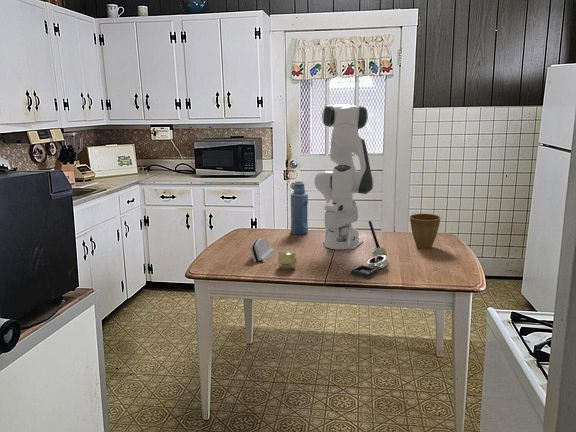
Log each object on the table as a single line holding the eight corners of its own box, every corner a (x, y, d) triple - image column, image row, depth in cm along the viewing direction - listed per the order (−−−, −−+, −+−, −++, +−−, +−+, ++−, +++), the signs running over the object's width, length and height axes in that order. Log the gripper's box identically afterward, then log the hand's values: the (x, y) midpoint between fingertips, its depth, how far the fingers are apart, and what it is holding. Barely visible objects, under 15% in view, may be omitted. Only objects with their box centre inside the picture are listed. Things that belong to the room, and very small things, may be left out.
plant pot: (436, 243, 254) (438, 213, 250) (440, 252, 240) (442, 220, 236) (407, 242, 257) (408, 212, 253) (409, 250, 243) (410, 219, 239)
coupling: (340, 237, 214) (340, 224, 213) (350, 240, 211) (351, 226, 209) (332, 240, 210) (332, 227, 209) (343, 242, 207) (343, 229, 205)
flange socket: (360, 268, 218) (360, 264, 218) (378, 273, 212) (378, 268, 212) (349, 274, 211) (350, 269, 211) (368, 279, 206) (368, 274, 205)
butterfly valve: (387, 272, 213) (391, 257, 228) (373, 231, 208) (378, 218, 224) (368, 276, 216) (373, 260, 231) (354, 235, 211) (361, 222, 227)
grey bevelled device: (263, 262, 229) (256, 243, 227) (255, 265, 230) (247, 245, 229) (275, 252, 244) (268, 233, 243) (266, 254, 246) (259, 236, 245)
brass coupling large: (286, 263, 227) (285, 249, 225) (299, 267, 222) (299, 252, 220) (274, 268, 221) (274, 253, 219) (288, 272, 216) (288, 257, 214)
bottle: (296, 229, 285) (295, 179, 278) (311, 231, 280) (310, 180, 273) (287, 233, 277) (286, 181, 270) (302, 235, 272) (302, 183, 265)
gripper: (349, 199, 216) (349, 228, 219) (322, 206, 201) (322, 239, 204) (361, 200, 212) (361, 231, 215) (334, 208, 197) (334, 241, 200)
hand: (341, 235), depth 210 cm, fingers closed on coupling, 6 cm apart
